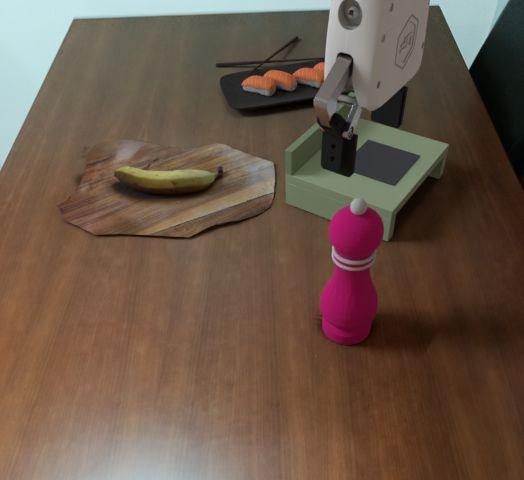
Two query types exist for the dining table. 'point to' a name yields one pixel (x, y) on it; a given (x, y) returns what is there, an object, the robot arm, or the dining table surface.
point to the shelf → (362, 170)
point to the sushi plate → (273, 82)
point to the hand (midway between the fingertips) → (362, 146)
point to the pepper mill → (351, 274)
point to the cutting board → (167, 189)
